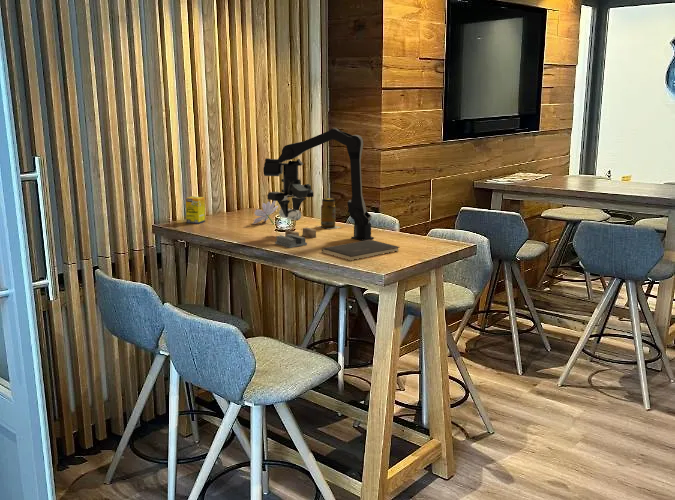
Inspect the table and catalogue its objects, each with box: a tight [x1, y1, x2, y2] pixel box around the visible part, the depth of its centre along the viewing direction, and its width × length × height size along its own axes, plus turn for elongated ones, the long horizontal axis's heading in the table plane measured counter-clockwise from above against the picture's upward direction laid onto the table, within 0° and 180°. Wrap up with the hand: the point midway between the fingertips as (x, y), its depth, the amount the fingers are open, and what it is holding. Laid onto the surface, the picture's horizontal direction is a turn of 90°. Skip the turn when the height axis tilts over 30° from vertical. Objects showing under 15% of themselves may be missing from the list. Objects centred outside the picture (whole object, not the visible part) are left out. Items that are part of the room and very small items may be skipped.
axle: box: [278, 207, 302, 221], centre depth 267 cm, size 9×4×4 cm, turn 41°
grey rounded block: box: [284, 226, 317, 239], centre depth 264 cm, size 6×10×3 cm, turn 131°
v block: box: [274, 234, 308, 249], centre depth 253 cm, size 9×8×3 cm
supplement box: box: [185, 195, 206, 225], centre depth 292 cm, size 6×6×11 cm
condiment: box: [317, 197, 342, 230], centre depth 285 cm, size 7×8×12 cm
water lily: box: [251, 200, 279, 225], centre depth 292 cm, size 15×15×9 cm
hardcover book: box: [321, 239, 400, 261], centre depth 242 cm, size 16×23×2 cm
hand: (290, 216), depth 267 cm, fingers closed on axle, 4 cm apart
